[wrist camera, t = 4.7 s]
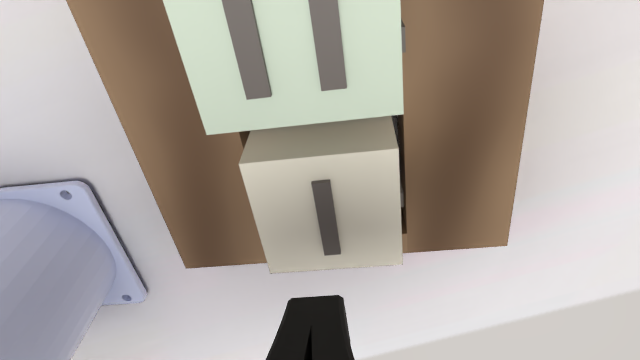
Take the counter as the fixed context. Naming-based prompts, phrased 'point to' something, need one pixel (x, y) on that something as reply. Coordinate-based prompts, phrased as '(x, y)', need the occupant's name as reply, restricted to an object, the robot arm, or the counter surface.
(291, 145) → the tile one
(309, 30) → the tile two
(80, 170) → the counter surface
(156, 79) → the frame
